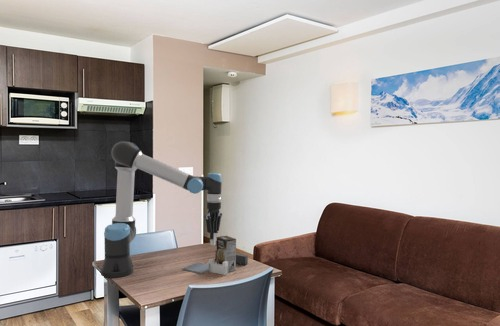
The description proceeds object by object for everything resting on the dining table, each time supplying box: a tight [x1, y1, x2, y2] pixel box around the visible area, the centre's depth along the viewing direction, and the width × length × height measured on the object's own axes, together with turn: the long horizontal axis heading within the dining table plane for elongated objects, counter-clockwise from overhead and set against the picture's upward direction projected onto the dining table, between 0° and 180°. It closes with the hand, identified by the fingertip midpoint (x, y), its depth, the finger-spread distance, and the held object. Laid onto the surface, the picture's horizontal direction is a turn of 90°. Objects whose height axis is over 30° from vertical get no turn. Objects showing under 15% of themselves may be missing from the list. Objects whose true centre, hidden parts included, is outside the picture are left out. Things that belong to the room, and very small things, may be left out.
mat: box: [181, 261, 209, 275], centre depth 191 cm, size 13×13×1 cm
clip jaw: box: [208, 258, 229, 276], centre depth 184 cm, size 10×2×6 cm, turn 59°
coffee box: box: [216, 235, 237, 273], centre depth 190 cm, size 9×6×16 cm
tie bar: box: [215, 249, 249, 266], centre depth 202 cm, size 19×3×5 cm, turn 59°
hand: (212, 244), depth 203 cm, fingers closed
